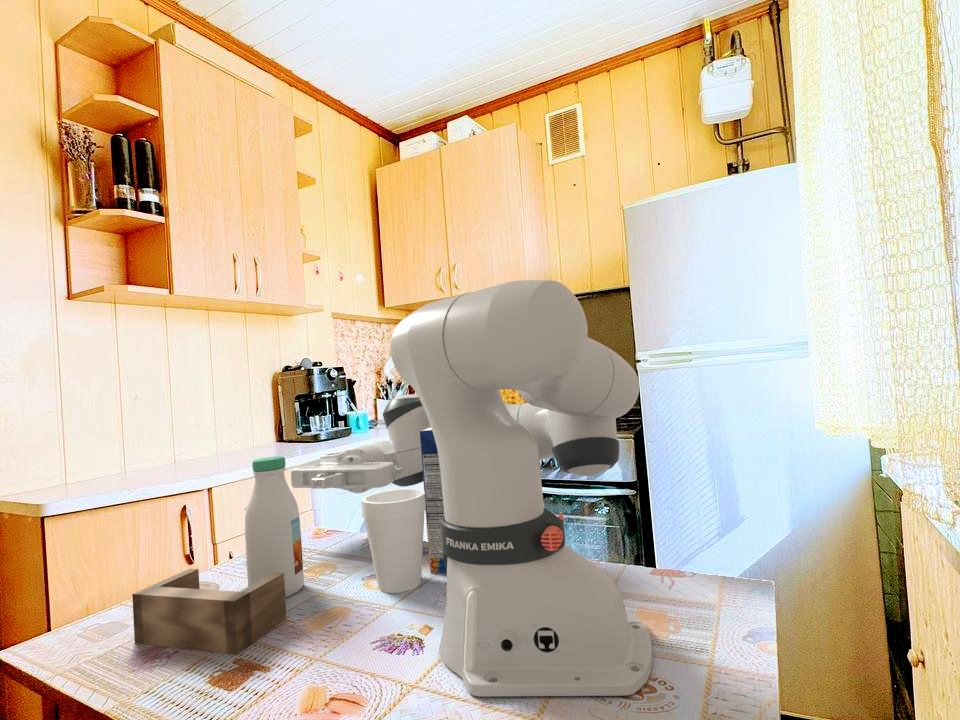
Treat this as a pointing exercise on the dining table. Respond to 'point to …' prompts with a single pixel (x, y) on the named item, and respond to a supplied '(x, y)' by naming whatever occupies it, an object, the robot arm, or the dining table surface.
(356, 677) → the dining table surface
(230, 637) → the walnut dock
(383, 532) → the foam cup
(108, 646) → the dining table surface
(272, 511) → the milk bottle
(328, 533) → the dining table surface
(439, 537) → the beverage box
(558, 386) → the robot arm
